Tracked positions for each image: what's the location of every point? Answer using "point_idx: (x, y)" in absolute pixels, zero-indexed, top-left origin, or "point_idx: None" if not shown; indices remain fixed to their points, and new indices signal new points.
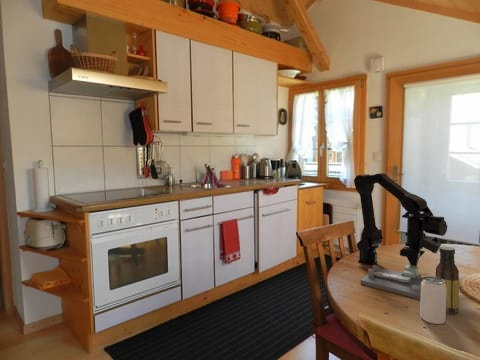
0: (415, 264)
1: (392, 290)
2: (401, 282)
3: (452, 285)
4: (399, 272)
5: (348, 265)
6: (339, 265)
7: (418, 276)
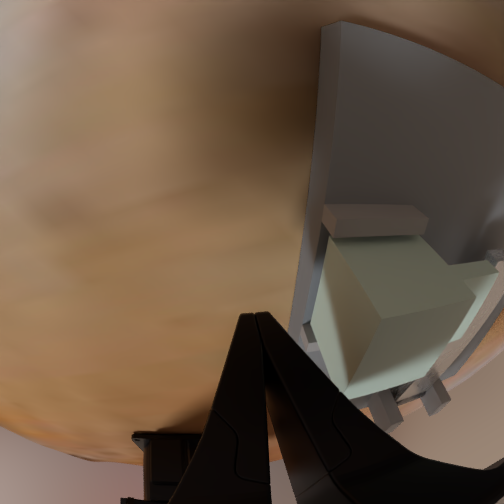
0: (316, 371)
1: None
2: None
3: None
4: None
5: (274, 449)
6: None
7: (407, 226)
